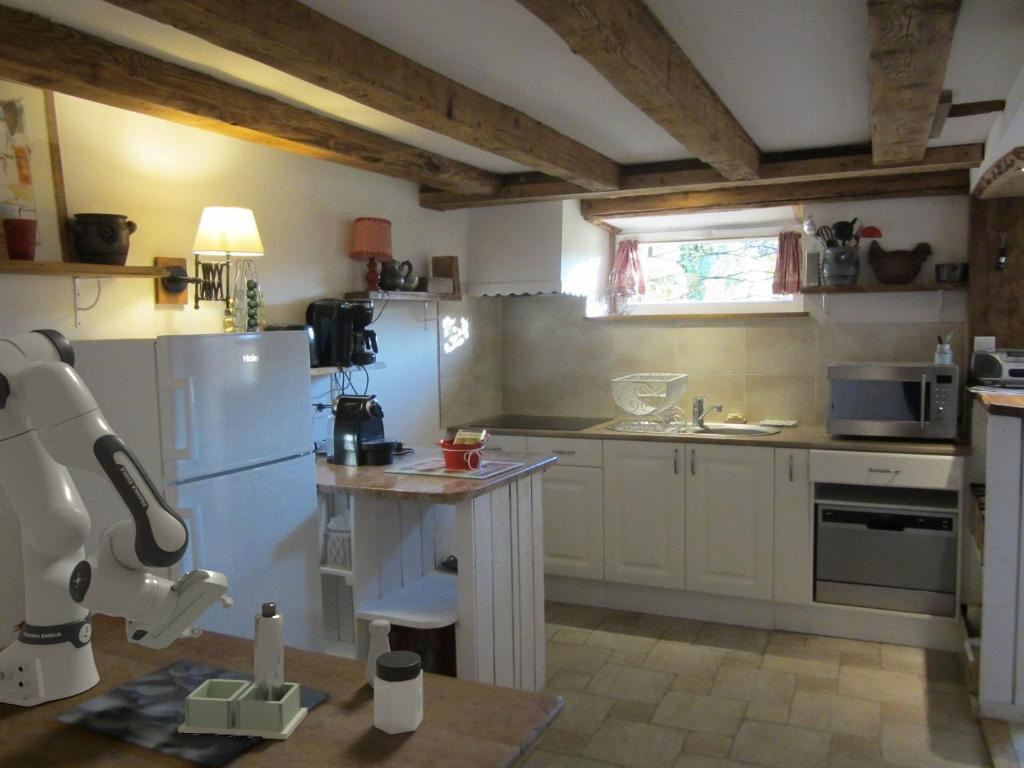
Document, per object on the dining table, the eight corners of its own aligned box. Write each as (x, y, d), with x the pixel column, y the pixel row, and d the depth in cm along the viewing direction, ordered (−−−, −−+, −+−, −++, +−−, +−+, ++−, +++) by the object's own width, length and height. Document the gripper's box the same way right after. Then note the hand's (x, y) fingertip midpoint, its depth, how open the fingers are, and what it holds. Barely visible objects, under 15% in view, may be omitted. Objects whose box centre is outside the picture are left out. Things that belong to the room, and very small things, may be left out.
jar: (413, 737, 141) (412, 670, 141) (368, 733, 143) (368, 666, 142) (427, 714, 150) (427, 651, 149) (386, 710, 151) (385, 648, 151)
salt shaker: (388, 691, 160) (387, 627, 159) (361, 689, 161) (360, 625, 160) (398, 679, 165) (397, 617, 165) (371, 677, 167) (371, 615, 166)
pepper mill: (250, 724, 144) (249, 608, 143) (262, 711, 149) (261, 599, 148) (276, 725, 143) (276, 609, 142) (288, 713, 148) (287, 600, 147)
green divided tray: (178, 733, 143) (177, 700, 142) (205, 708, 152) (205, 677, 152) (286, 739, 140) (286, 705, 140) (307, 713, 150) (307, 681, 150)
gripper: (190, 555, 153) (247, 574, 163) (120, 620, 157) (180, 635, 167) (194, 580, 149) (252, 599, 159) (122, 647, 153) (184, 661, 162)
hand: (215, 618), depth 163 cm, fingers open, 8 cm apart
